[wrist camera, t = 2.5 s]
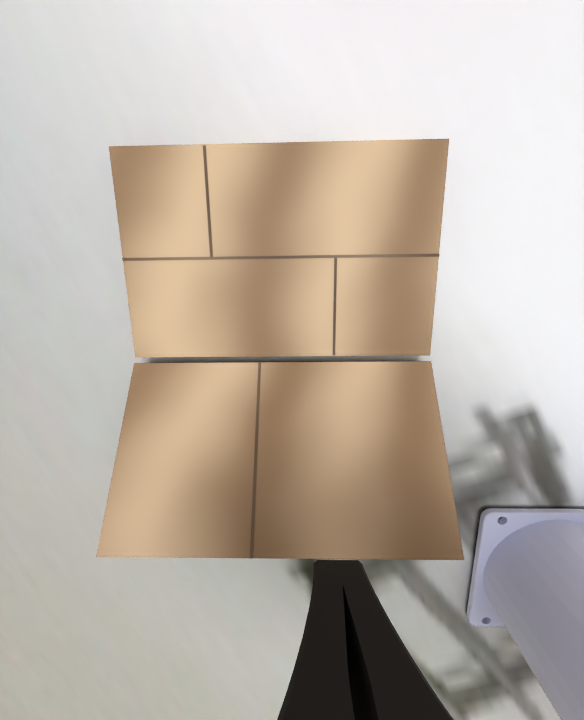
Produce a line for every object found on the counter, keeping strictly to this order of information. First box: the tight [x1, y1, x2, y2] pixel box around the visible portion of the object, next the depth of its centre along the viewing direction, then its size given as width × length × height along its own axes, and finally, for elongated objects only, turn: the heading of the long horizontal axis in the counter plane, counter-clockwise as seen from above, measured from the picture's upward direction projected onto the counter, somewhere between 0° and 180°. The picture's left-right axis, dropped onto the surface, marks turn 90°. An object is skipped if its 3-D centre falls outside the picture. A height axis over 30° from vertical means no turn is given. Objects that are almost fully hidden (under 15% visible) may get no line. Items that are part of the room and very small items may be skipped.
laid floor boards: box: [109, 139, 449, 357], centre depth 15 cm, size 14×9×1 cm, turn 91°
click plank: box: [96, 361, 464, 560], centre depth 14 cm, size 14×8×1 cm
